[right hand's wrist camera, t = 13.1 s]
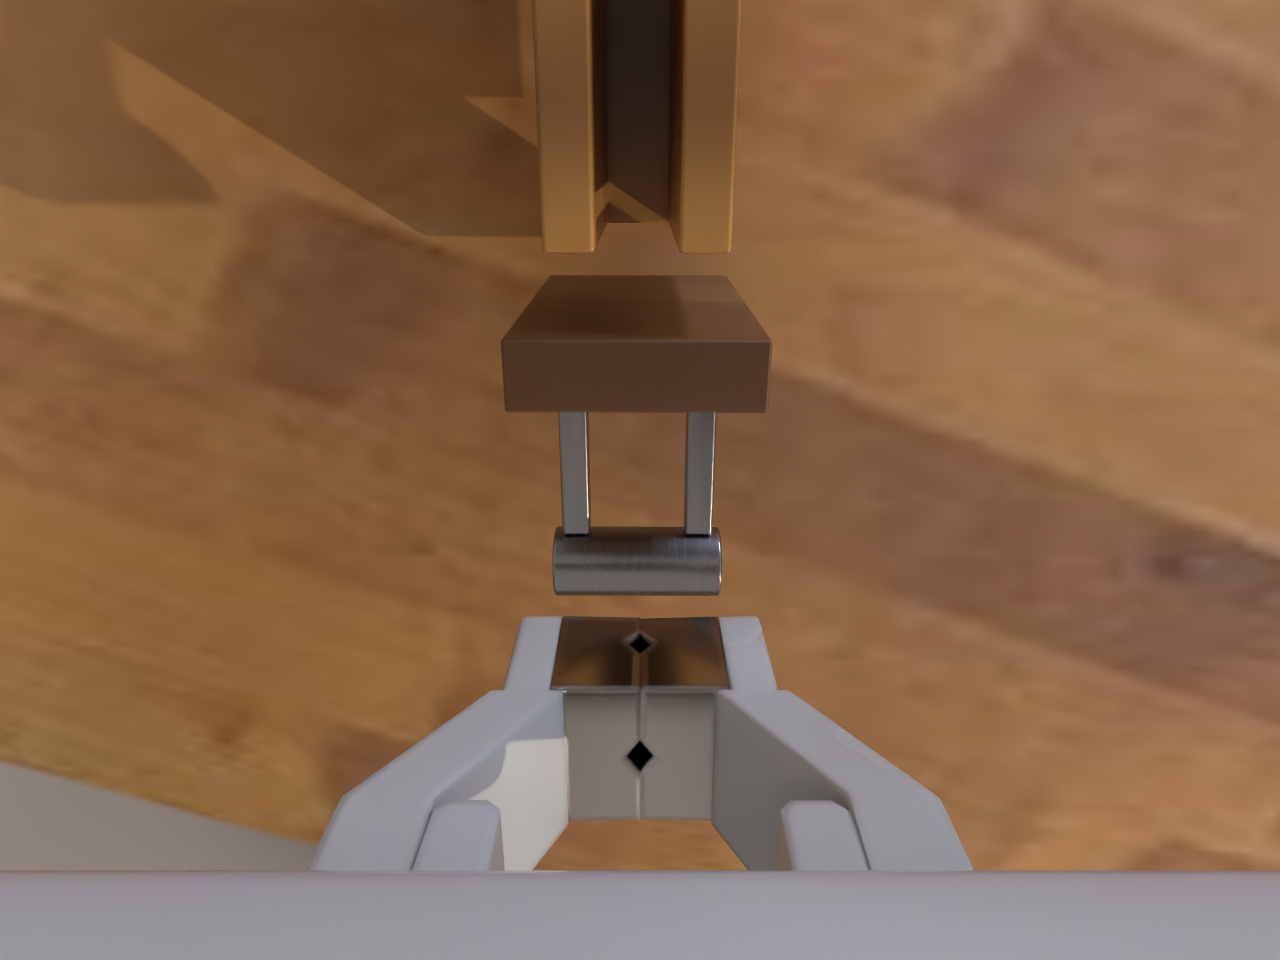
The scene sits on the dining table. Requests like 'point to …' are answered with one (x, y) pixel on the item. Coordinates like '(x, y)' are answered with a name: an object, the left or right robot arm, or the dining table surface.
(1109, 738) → the dining table surface
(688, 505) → the drawer
